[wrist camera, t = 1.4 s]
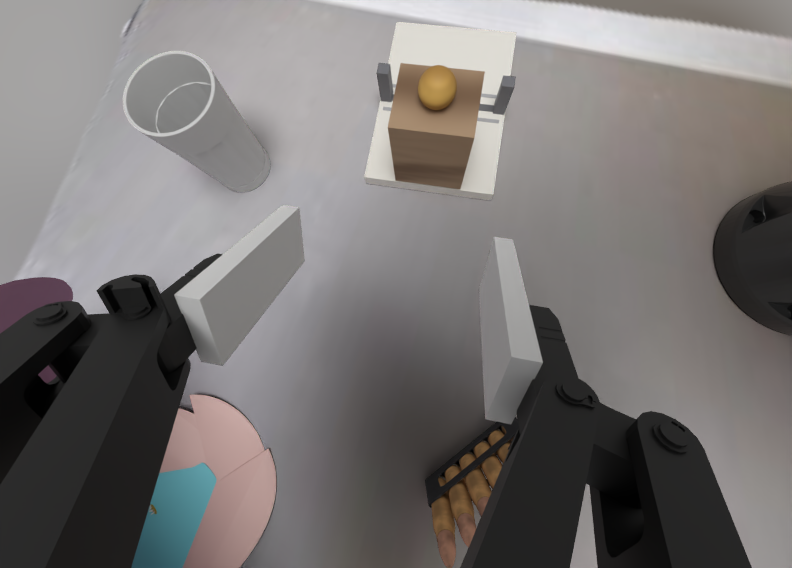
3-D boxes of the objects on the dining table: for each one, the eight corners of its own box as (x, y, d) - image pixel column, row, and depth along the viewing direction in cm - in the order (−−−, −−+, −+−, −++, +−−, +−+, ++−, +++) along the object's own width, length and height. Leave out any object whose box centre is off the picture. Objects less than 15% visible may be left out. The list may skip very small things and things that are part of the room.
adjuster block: (460, 189, 35) (480, 114, 23) (395, 180, 35) (384, 103, 24) (468, 138, 36) (492, 42, 24) (405, 130, 36) (398, 33, 25)
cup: (274, 131, 39) (212, 42, 28) (279, 192, 38) (216, 126, 26) (210, 142, 40) (122, 60, 28) (213, 204, 38) (122, 144, 27)
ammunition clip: (509, 411, 32) (561, 452, 21) (522, 427, 32) (582, 478, 20) (424, 480, 32) (427, 563, 20) (436, 497, 32) (447, 591, 20)
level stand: (490, 200, 36) (502, 176, 31) (366, 183, 37) (357, 157, 32) (512, 44, 39) (527, -4, 34) (397, 33, 40) (394, -14, 35)
